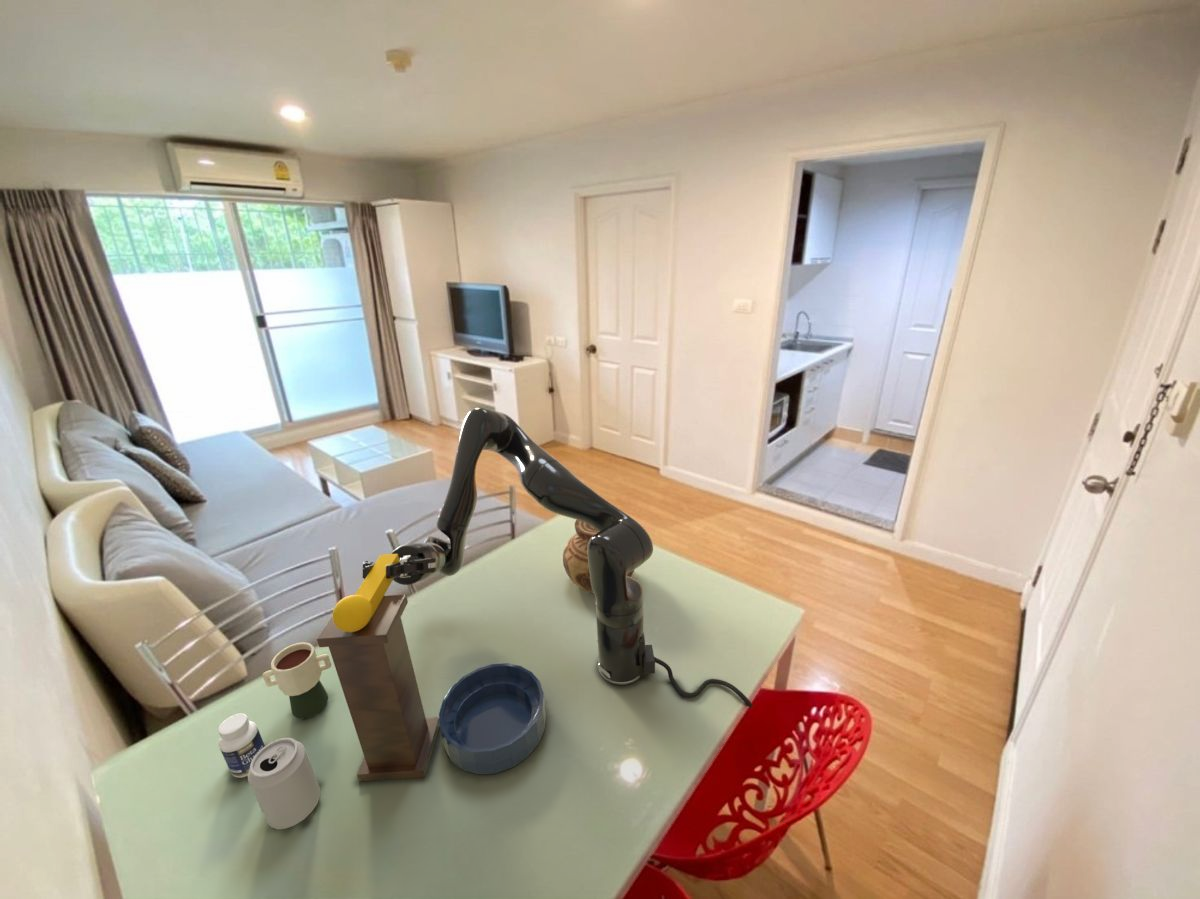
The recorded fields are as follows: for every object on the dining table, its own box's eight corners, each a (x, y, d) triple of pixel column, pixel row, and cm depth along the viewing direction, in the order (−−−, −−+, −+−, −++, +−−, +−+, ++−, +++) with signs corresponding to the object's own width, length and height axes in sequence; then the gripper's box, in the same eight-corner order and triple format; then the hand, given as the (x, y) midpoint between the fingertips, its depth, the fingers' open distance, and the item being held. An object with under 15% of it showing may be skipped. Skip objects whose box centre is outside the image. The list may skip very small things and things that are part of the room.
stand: (440, 723, 91) (410, 592, 80) (425, 777, 82) (388, 637, 71) (381, 727, 91) (342, 596, 80) (358, 781, 82) (310, 641, 70)
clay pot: (649, 593, 118) (615, 528, 111) (579, 618, 121) (542, 557, 114) (643, 547, 136) (614, 489, 129) (583, 570, 139) (550, 515, 132)
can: (257, 822, 76) (232, 770, 72) (300, 777, 83) (279, 726, 78) (290, 841, 74) (267, 788, 69) (332, 793, 80) (313, 741, 76)
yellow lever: (407, 565, 87) (401, 540, 85) (367, 639, 70) (359, 610, 68) (377, 567, 87) (370, 542, 85) (330, 641, 70) (321, 612, 68)
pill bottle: (250, 781, 82) (231, 740, 79) (223, 776, 84) (204, 735, 80) (276, 751, 87) (259, 711, 84) (250, 746, 88) (233, 707, 85)
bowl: (548, 683, 99) (546, 660, 96) (542, 772, 82) (539, 747, 80) (457, 689, 98) (453, 666, 96) (432, 780, 81) (426, 755, 79)
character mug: (343, 683, 101) (327, 634, 96) (341, 711, 95) (323, 659, 90) (282, 703, 97) (262, 652, 92) (276, 732, 91) (254, 680, 86)
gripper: (379, 545, 98) (334, 551, 81) (450, 541, 98) (420, 546, 81) (379, 584, 97) (333, 598, 80) (450, 579, 97) (420, 593, 80)
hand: (377, 572), depth 80 cm, fingers closed on yellow lever, 3 cm apart
